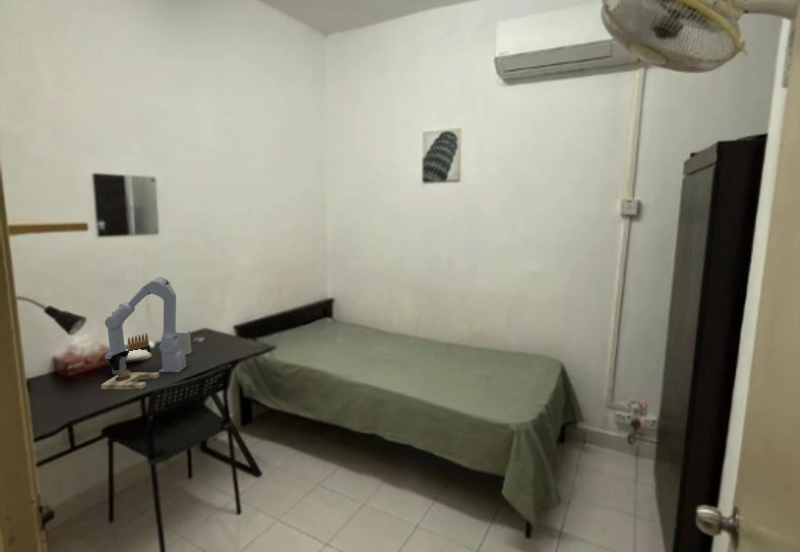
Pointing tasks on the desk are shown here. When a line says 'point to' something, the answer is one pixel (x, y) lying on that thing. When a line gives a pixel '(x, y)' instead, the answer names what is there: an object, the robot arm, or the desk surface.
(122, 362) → the tab peg
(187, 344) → the skincare box
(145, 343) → the ammunition clip
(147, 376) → the notched board
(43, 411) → the desk surface
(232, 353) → the desk surface
